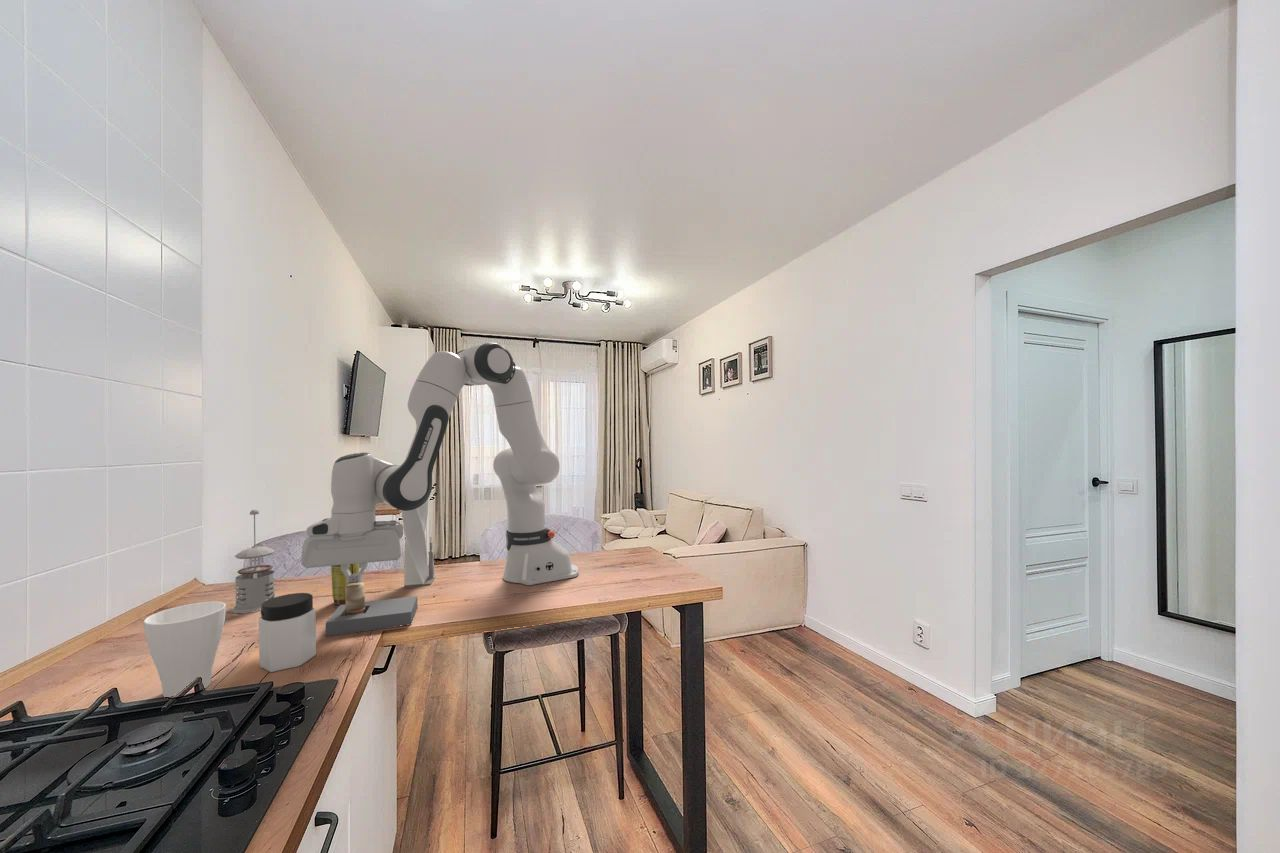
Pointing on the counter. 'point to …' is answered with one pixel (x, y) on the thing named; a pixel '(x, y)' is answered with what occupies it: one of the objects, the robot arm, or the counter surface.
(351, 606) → the peg
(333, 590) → the sauce bottle
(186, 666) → the cup
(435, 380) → the robot arm
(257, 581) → the french press
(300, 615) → the jar
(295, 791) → the counter surface
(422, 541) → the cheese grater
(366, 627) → the board
